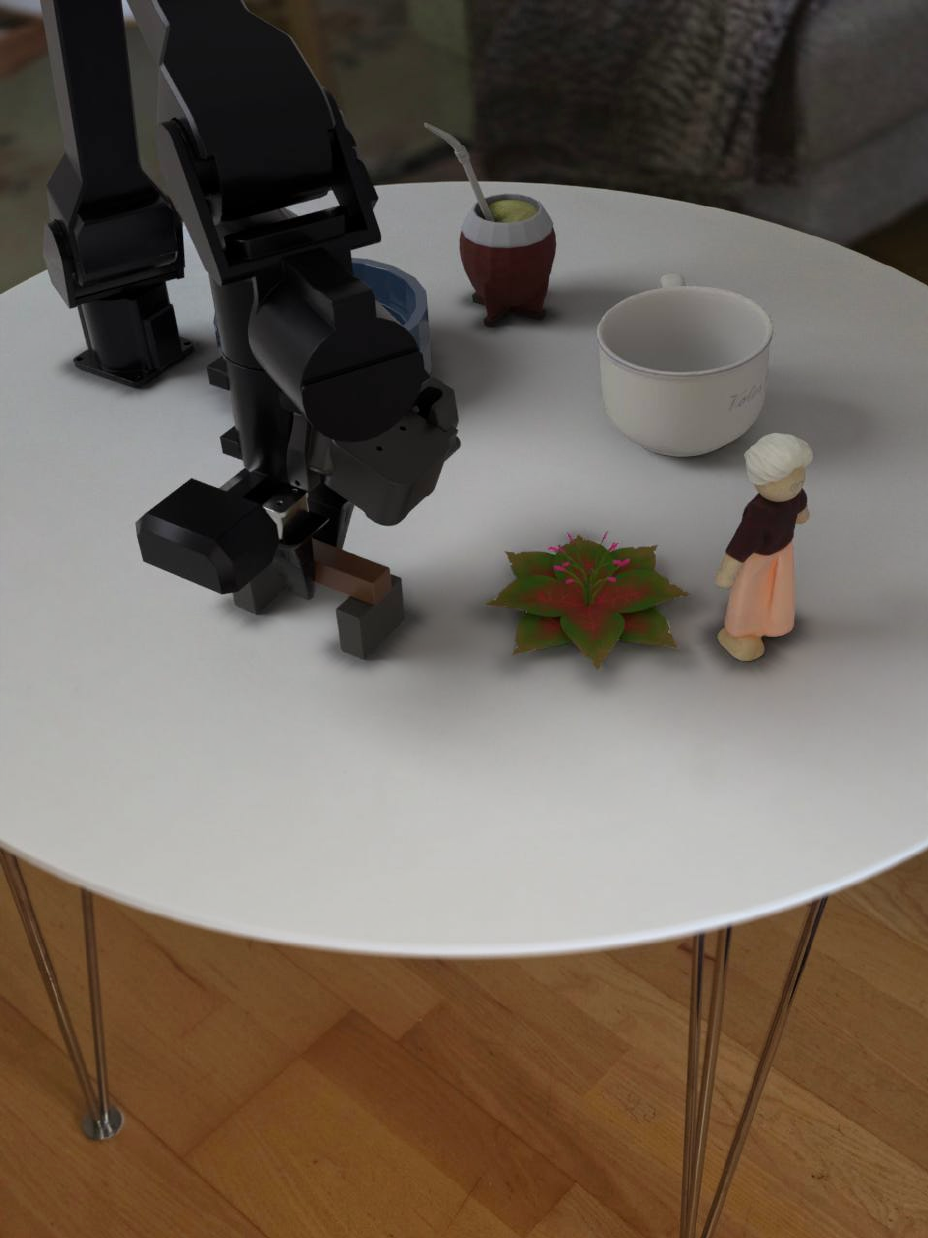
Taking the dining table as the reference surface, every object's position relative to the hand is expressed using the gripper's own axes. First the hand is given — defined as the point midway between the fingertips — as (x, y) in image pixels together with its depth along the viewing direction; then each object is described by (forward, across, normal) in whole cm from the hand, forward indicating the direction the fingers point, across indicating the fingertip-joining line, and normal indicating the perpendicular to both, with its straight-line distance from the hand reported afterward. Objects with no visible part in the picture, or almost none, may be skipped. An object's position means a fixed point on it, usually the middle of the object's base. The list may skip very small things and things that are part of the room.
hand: (315, 586), depth 77 cm
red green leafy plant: (+2, +8, -13) cm, 15 cm away
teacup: (+2, +28, -9) cm, 29 cm away
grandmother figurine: (+2, +11, -22) cm, 25 cm away
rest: (+2, 0, 0) cm, 2 cm away
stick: (-1, 0, 0) cm, 1 cm away
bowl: (+2, +21, +15) cm, 26 cm away
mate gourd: (+2, +35, +9) cm, 36 cm away
